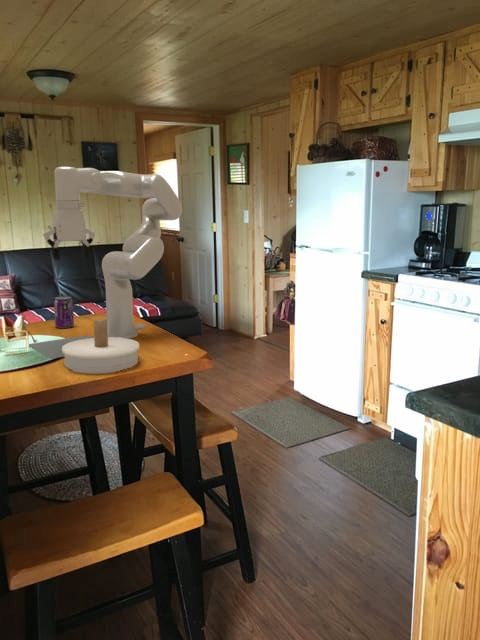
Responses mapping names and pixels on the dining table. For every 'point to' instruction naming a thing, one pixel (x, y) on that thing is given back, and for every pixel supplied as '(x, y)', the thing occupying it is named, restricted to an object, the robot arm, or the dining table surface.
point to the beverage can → (63, 312)
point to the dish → (100, 364)
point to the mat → (54, 346)
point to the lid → (100, 345)
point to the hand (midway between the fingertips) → (71, 259)
